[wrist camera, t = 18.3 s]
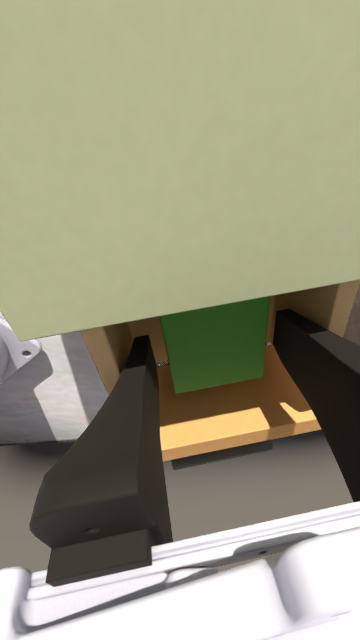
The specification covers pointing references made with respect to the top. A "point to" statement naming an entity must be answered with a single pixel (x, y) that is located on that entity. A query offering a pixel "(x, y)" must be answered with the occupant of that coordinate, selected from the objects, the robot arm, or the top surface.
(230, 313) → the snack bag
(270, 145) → the cabinet
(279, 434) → the drawer
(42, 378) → the top surface
